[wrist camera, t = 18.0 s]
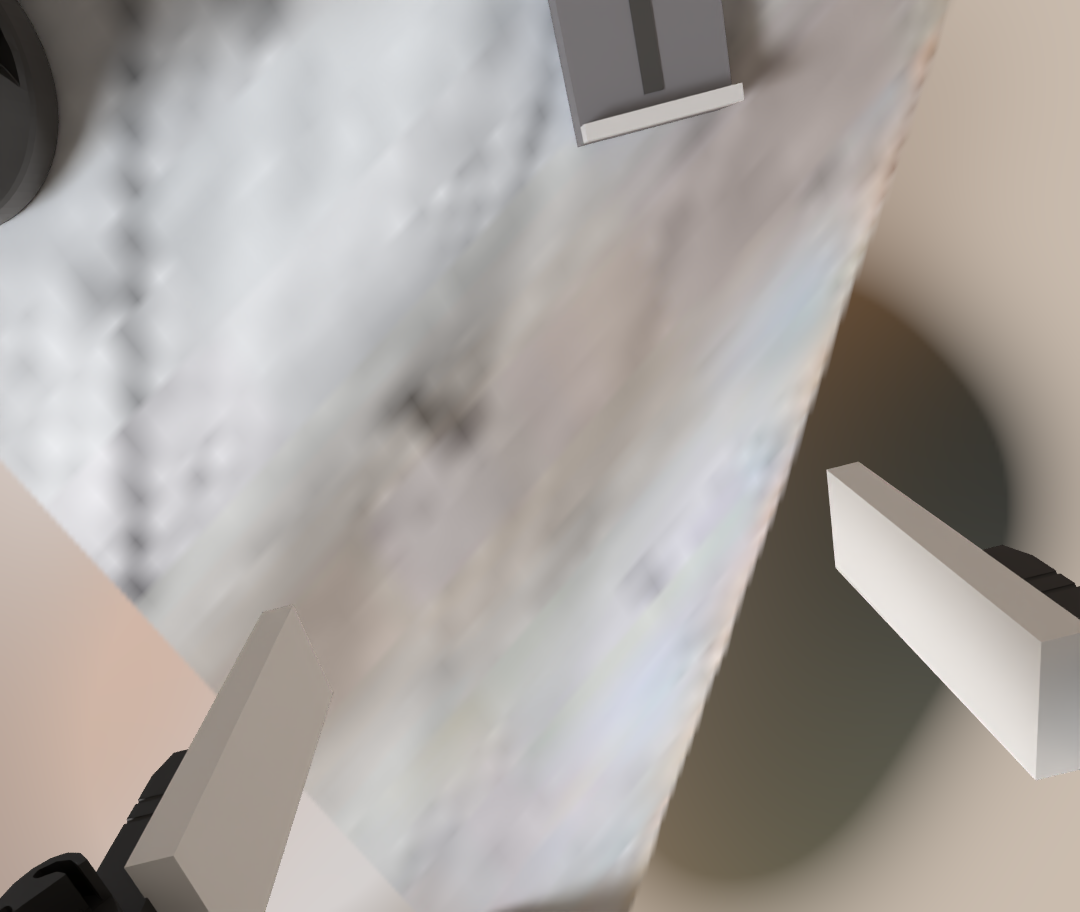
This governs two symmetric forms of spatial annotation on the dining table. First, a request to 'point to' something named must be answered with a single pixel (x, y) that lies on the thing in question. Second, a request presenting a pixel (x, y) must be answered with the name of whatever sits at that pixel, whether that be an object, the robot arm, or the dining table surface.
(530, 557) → the dining table surface
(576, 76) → the fader console
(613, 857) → the dining table surface
